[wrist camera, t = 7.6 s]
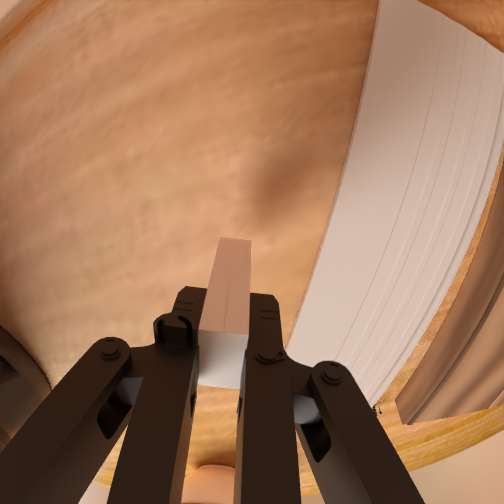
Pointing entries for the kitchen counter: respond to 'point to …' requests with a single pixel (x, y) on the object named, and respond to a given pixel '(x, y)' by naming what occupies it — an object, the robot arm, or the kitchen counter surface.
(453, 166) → the baseboard molding
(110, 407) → the robot arm
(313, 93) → the kitchen counter surface
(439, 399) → the grooved tan panel
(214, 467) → the lidded jar
